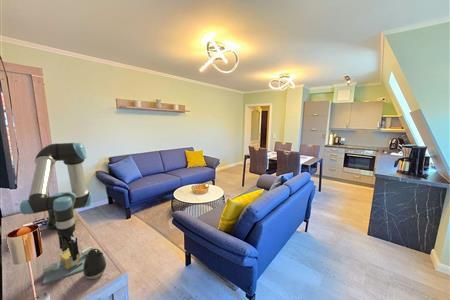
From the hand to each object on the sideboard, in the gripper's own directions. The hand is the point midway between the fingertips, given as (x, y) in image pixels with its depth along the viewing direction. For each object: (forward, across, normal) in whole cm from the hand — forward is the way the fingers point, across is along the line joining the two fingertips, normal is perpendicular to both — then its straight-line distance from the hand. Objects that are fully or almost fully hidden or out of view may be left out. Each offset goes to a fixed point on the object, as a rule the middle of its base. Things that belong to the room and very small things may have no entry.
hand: (70, 262), depth 107 cm
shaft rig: (+3, 0, 0) cm, 3 cm away
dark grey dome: (+3, +17, +3) cm, 17 cm away
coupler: (0, 0, 0) cm, 0 cm away
